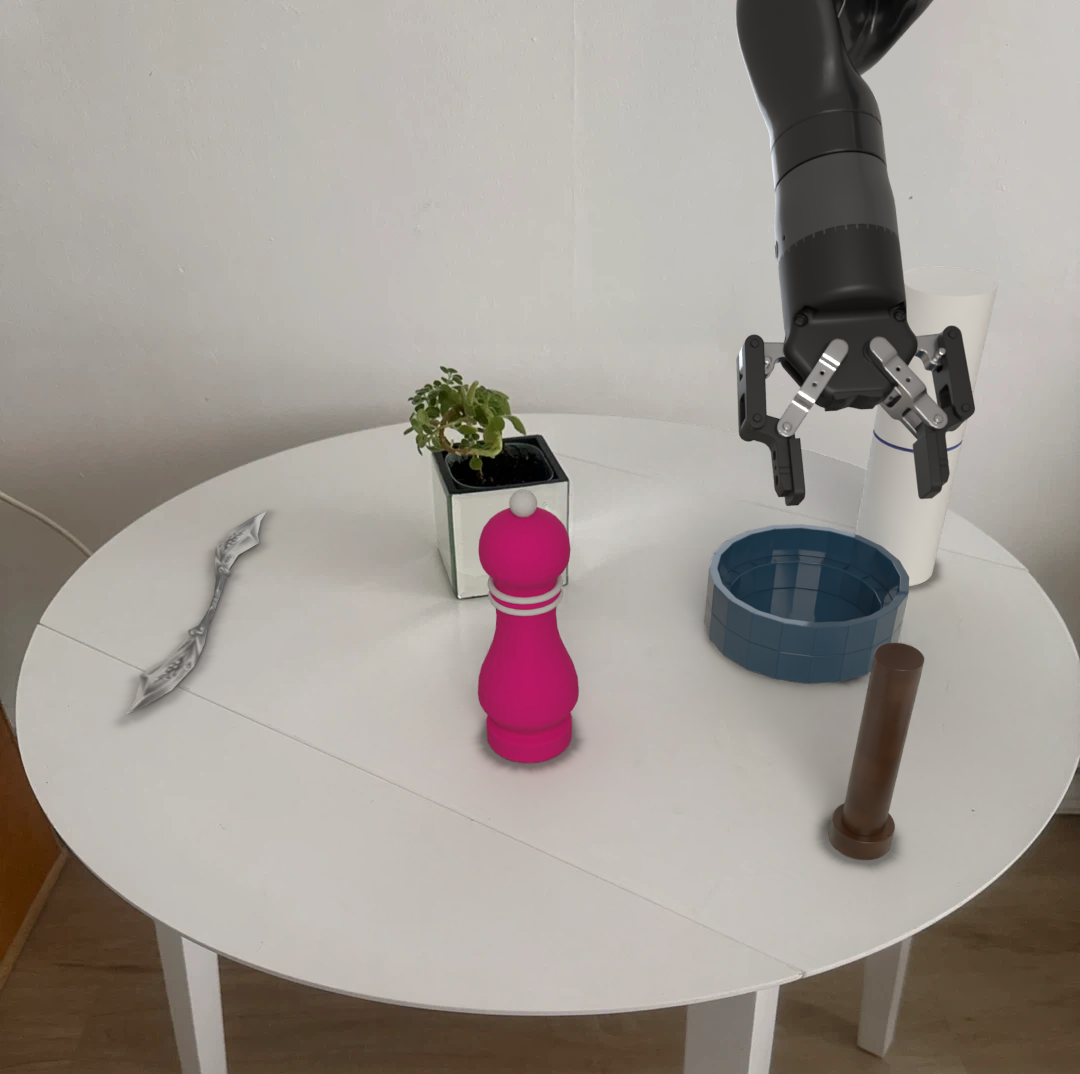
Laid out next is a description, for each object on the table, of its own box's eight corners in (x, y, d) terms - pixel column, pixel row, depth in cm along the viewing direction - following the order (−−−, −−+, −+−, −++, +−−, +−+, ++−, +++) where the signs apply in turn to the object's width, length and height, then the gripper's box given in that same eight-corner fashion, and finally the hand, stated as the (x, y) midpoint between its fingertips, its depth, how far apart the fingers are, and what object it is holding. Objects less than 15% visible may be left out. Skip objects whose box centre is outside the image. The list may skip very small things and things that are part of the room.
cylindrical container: (852, 583, 101) (903, 294, 85) (848, 542, 107) (896, 263, 91) (936, 589, 100) (1004, 298, 84) (928, 548, 106) (991, 267, 90)
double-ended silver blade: (120, 717, 88) (185, 718, 87) (118, 711, 87) (183, 711, 87) (223, 513, 113) (273, 513, 112) (222, 507, 112) (272, 507, 112)
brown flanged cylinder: (891, 823, 78) (935, 641, 68) (889, 865, 75) (935, 680, 65) (830, 813, 78) (865, 632, 69) (826, 854, 75) (862, 671, 66)
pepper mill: (530, 694, 89) (524, 454, 77) (598, 736, 85) (604, 490, 73) (460, 737, 85) (441, 491, 73) (528, 782, 81) (521, 531, 69)
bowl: (897, 597, 99) (910, 536, 95) (892, 704, 88) (907, 639, 84) (718, 575, 102) (724, 515, 99) (690, 675, 91) (696, 611, 87)
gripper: (739, 223, 69) (765, 486, 67) (971, 214, 70) (1003, 473, 68) (714, 285, 77) (737, 522, 75) (924, 275, 78) (951, 510, 76)
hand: (863, 498), depth 72 cm, fingers open, 8 cm apart
